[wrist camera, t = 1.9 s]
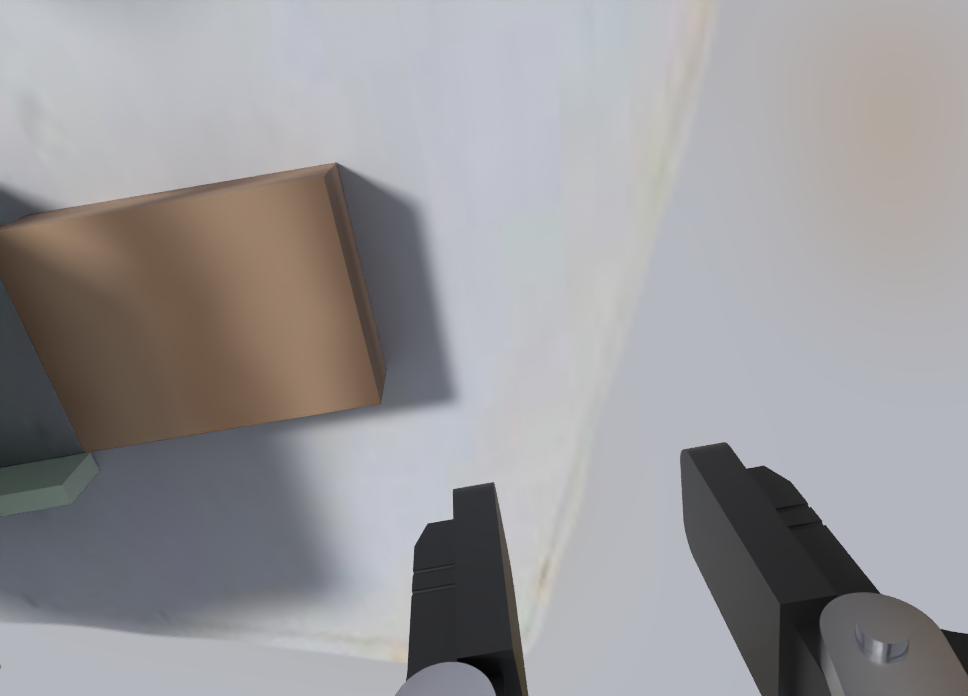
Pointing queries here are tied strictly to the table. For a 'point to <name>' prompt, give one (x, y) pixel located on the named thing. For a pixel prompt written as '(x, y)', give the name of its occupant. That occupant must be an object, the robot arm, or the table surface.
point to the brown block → (198, 307)
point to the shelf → (45, 483)
